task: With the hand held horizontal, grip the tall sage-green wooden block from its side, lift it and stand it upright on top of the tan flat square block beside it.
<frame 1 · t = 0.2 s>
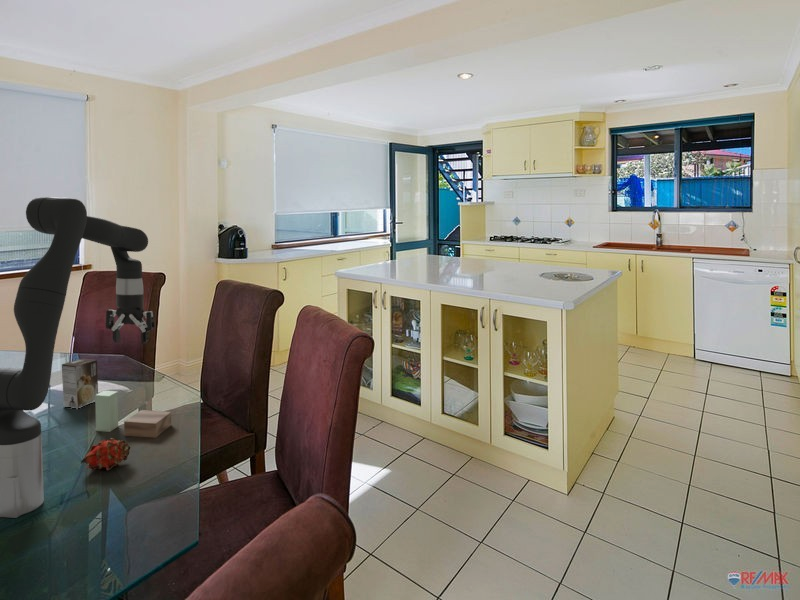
hand: (130, 342, 152), 29 cm above the table, tool pointing down, fingers open, 8 cm apart
dragon fruit: (106, 468, 131), on the table
tan flat square block: (148, 431, 156), on the table
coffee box: (81, 405, 173), on the table
sage block: (107, 428, 155), on the table
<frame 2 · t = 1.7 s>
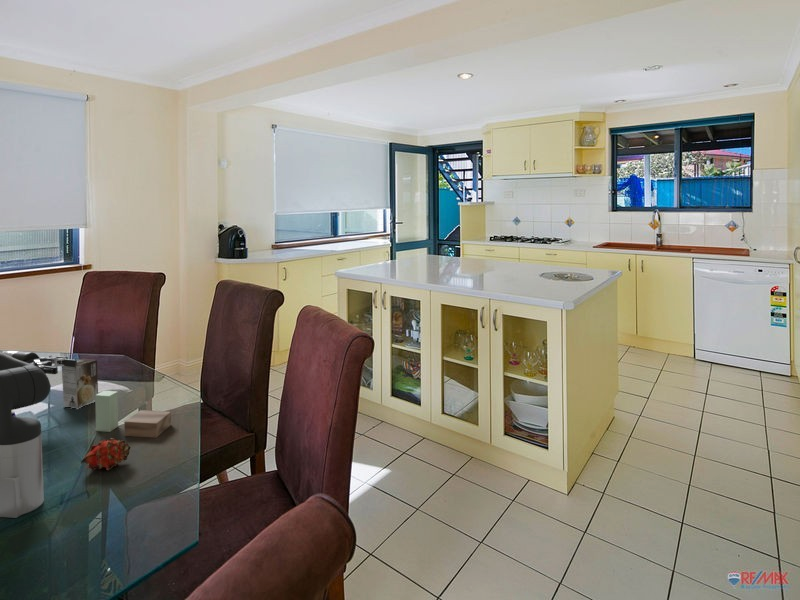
hand: (66, 366, 153), 20 cm above the table, tool horizontal, fingers open, 8 cm apart
nothing on the table moved.
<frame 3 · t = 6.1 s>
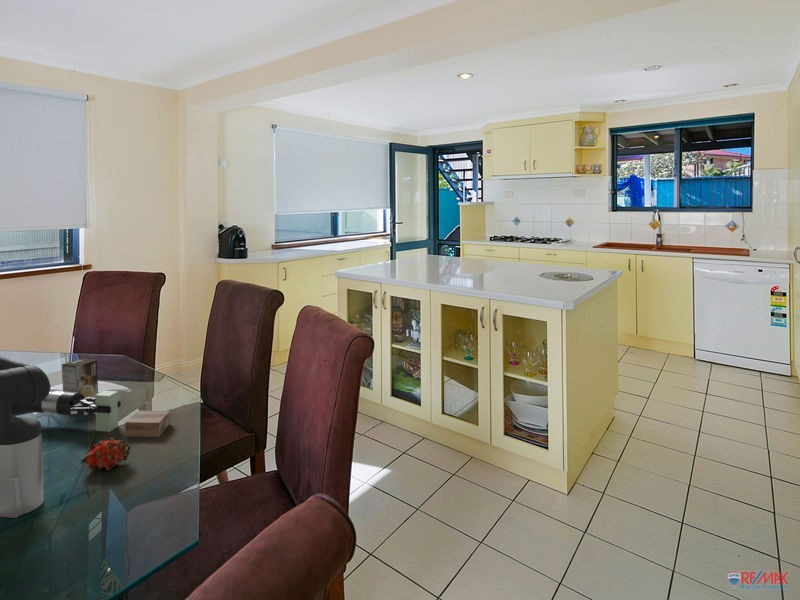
hand: (115, 406, 154), 8 cm above the table, tool horizontal, fingers closed on sage block, 4 cm apart
sage block: (107, 428, 155), on the table, touching gripper
everything else where it was.
when the fingers open (14 cm above the table, at t = 11.2 s): sage block drops 2 cm, resting on tan flat square block.
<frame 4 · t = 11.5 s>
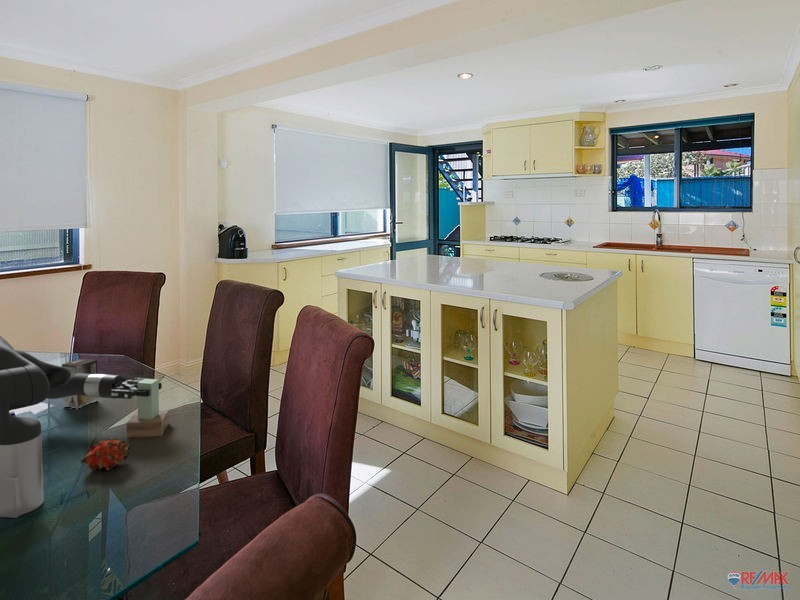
hand: (155, 389, 154), 14 cm above the table, tool horizontal, fingers open, 6 cm apart
tan flat square block: (148, 431, 156), on the table, touching sage block
sage block: (148, 416, 155), point 5 cm above the table, touching tan flat square block
everything else where it was.
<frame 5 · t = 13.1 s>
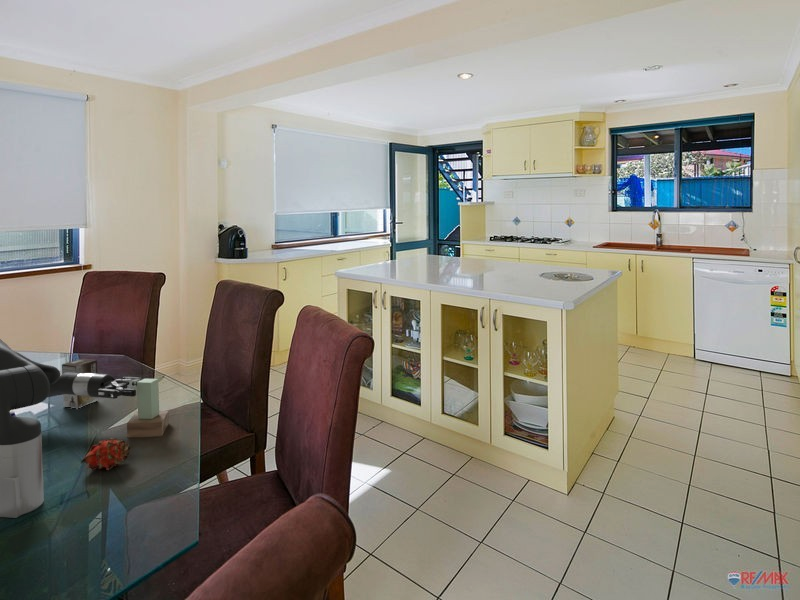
hand: (143, 388, 154), 14 cm above the table, tool horizontal, fingers open, 8 cm apart
nothing on the table moved.
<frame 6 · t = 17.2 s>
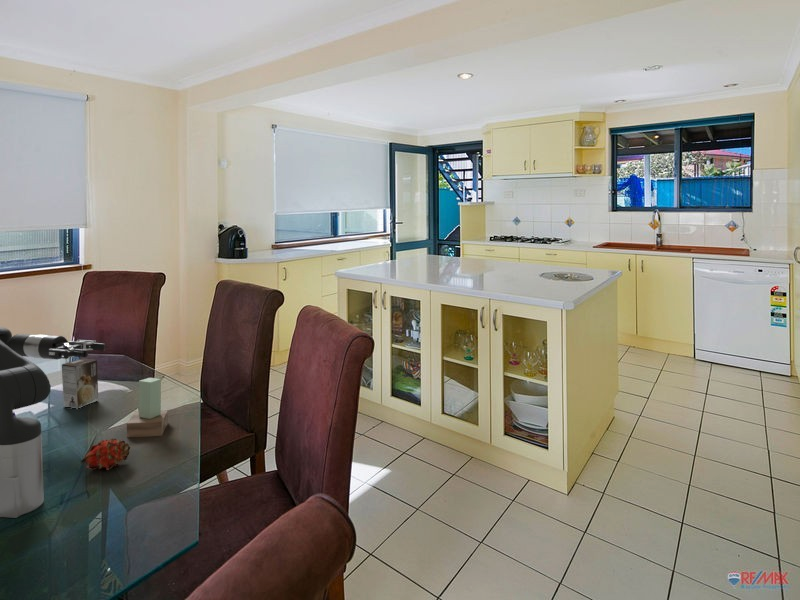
hand: (96, 350, 152), 26 cm above the table, tool horizontal, fingers open, 8 cm apart
at the end: sage block 0.5 cm off-centre on the tan flat square block, point 5.2 cm above the tan flat square block's base; sage block tilted 3°; the gripper is holding nothing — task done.
